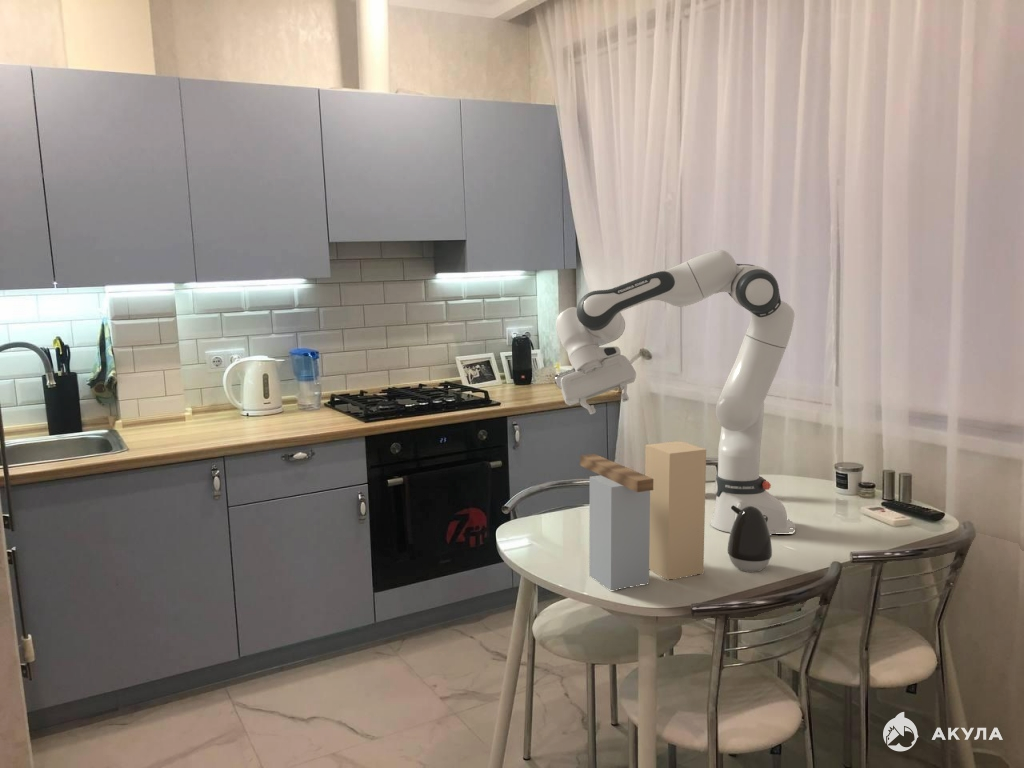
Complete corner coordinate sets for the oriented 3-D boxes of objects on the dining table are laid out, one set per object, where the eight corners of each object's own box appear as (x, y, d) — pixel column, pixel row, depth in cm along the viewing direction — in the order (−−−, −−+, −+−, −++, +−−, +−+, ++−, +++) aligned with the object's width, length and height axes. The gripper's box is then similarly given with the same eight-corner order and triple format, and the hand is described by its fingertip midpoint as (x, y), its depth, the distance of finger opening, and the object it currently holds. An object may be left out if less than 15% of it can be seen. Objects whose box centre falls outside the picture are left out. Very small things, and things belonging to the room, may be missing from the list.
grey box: (589, 576, 191) (589, 476, 188) (626, 569, 195) (627, 471, 192) (610, 591, 182) (611, 487, 179) (648, 584, 186) (650, 482, 183)
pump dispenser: (741, 557, 202) (743, 497, 200) (779, 568, 195) (782, 506, 192) (717, 567, 196) (719, 506, 194) (755, 579, 188) (757, 515, 186)
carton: (643, 566, 197) (645, 444, 193) (678, 559, 201) (680, 440, 197) (667, 580, 188) (669, 453, 184) (703, 573, 192) (706, 449, 187)
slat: (580, 465, 198) (580, 455, 198) (594, 463, 200) (594, 454, 199) (637, 492, 174) (637, 480, 174) (653, 490, 176) (653, 478, 176)
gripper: (552, 370, 214) (573, 415, 209) (623, 344, 217) (646, 388, 211) (552, 380, 220) (572, 424, 214) (621, 355, 222) (643, 398, 217)
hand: (609, 406), depth 213 cm, fingers open, 8 cm apart
